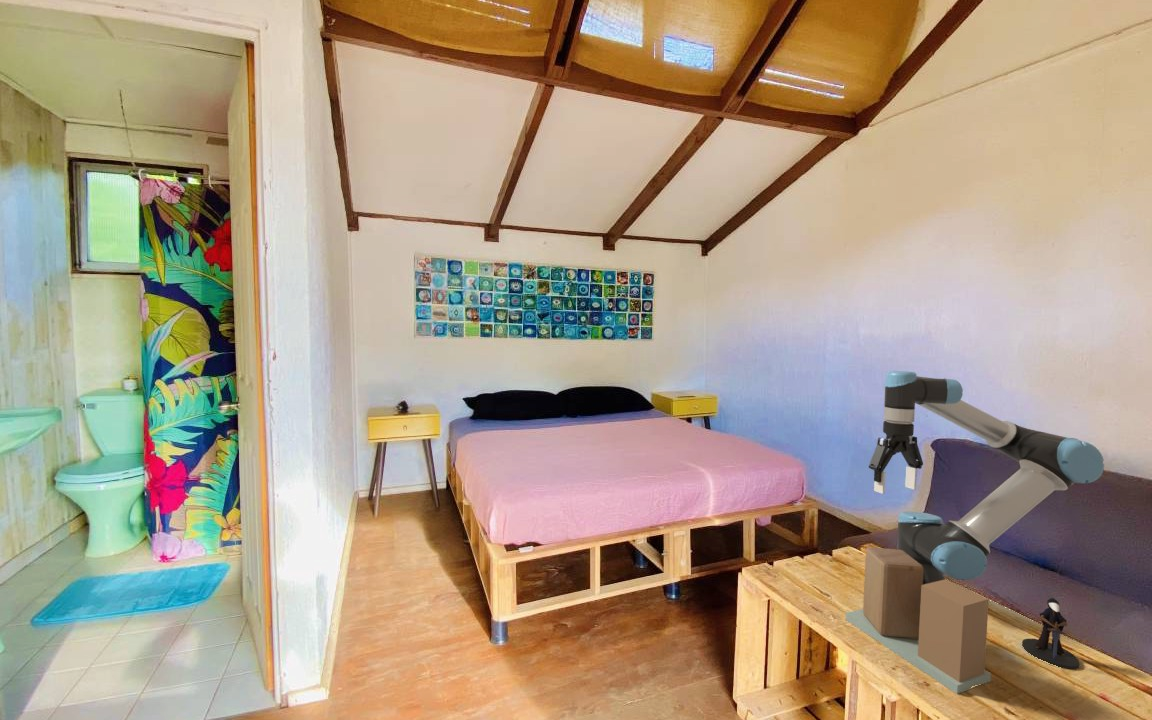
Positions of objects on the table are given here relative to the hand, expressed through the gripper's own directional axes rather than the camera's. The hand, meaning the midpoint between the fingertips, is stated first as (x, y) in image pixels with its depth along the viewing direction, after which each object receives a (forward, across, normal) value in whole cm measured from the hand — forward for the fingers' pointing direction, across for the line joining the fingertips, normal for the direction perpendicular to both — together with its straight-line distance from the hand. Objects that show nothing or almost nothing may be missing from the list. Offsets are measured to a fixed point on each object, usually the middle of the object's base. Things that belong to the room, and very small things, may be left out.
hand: (895, 490), depth 135 cm
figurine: (+35, -16, +30) cm, 49 cm away
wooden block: (+33, +16, +11) cm, 38 cm away
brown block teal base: (+35, +16, +17) cm, 42 cm away
